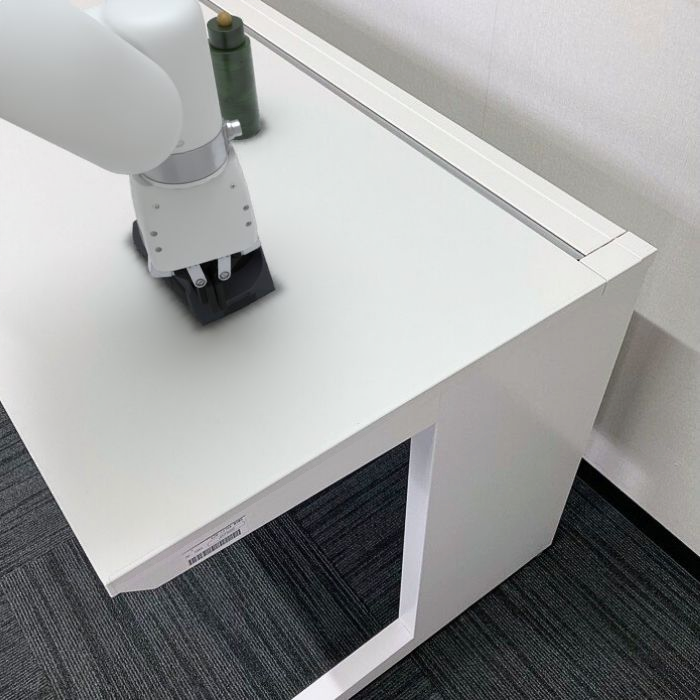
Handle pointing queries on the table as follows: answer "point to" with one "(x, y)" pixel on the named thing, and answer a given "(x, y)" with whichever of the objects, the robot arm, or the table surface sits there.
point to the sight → (244, 283)
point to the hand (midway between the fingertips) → (216, 303)
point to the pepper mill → (234, 72)
